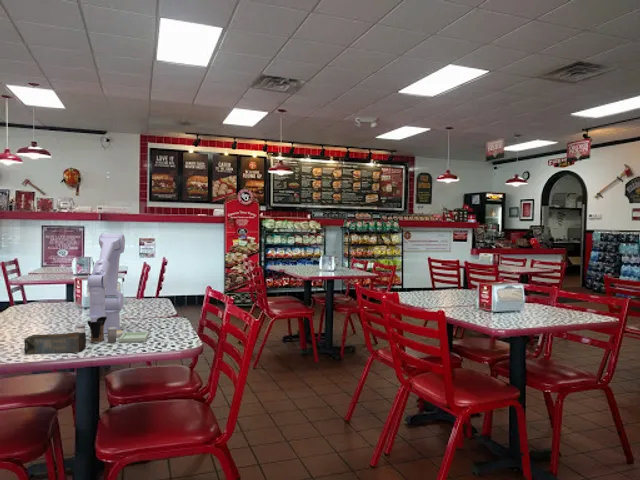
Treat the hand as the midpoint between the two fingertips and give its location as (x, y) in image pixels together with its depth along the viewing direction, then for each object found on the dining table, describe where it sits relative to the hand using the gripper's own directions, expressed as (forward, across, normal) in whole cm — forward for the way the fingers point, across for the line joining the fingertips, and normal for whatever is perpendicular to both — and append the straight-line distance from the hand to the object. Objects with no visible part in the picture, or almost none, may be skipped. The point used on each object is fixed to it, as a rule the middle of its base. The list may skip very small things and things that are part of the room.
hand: (97, 336), depth 193 cm
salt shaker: (+2, -3, -7) cm, 8 cm away
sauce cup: (+2, -6, +7) cm, 9 cm away
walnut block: (+2, 0, 0) cm, 2 cm away
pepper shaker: (+2, +5, +6) cm, 8 cm away
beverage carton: (+2, +16, -11) cm, 19 cm away
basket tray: (+2, +2, +14) cm, 15 cm away
